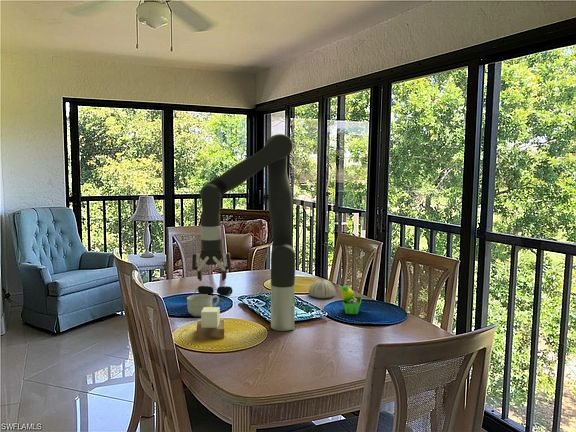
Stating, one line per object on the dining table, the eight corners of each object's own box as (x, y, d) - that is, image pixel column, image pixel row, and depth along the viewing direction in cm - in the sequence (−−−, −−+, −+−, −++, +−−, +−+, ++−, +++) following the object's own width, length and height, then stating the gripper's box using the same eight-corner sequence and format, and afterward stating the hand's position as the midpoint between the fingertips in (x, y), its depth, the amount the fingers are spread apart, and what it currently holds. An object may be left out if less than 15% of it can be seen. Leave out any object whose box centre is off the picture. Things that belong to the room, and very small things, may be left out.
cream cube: (219, 322, 180) (219, 307, 180) (217, 327, 174) (217, 312, 174) (204, 322, 180) (204, 307, 180) (201, 327, 174) (201, 311, 174)
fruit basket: (360, 315, 201) (360, 289, 200) (339, 314, 203) (339, 288, 202) (361, 307, 213) (362, 283, 211) (341, 306, 214) (342, 282, 213)
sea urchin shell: (326, 301, 222) (326, 284, 222) (302, 296, 231) (302, 280, 230) (340, 295, 233) (340, 279, 232) (317, 290, 241) (318, 275, 240)
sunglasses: (232, 295, 232) (232, 286, 231) (227, 308, 218) (227, 298, 217) (198, 294, 233) (197, 285, 232) (190, 307, 219) (190, 297, 218)
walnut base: (223, 330, 184) (223, 320, 183) (224, 339, 174) (224, 328, 173) (197, 331, 182) (197, 321, 182) (196, 340, 172) (196, 330, 172)
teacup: (187, 319, 195) (187, 300, 194) (186, 311, 205) (185, 293, 204) (221, 316, 198) (221, 298, 197) (218, 309, 209) (218, 291, 208)
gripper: (231, 236, 179) (232, 278, 181) (193, 236, 179) (194, 278, 180) (229, 239, 171) (229, 282, 173) (190, 239, 171) (191, 283, 173)
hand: (212, 280), depth 177 cm, fingers open, 8 cm apart
